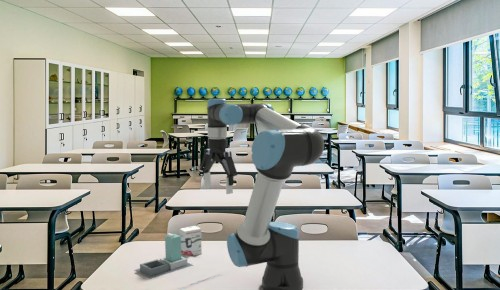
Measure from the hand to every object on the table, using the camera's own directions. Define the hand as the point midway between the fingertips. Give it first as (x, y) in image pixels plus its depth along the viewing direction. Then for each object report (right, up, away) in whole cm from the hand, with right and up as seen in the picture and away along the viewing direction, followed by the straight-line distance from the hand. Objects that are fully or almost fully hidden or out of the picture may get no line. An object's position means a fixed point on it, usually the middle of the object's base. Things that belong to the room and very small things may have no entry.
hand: (218, 191), depth 185 cm
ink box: (-13, -30, +19) cm, 38 cm away
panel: (-22, -32, +1) cm, 39 cm away
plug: (-18, -30, +4) cm, 36 cm away
